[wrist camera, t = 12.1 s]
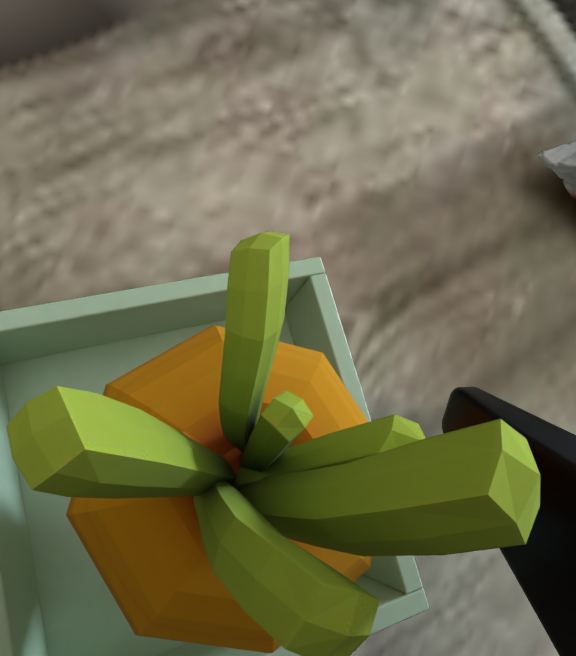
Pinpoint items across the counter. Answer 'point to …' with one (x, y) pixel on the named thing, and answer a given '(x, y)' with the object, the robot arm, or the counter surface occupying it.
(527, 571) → the robot arm
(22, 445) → the carrot
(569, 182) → the packaged food
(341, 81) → the counter surface
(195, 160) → the counter surface
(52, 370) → the mint green tray
